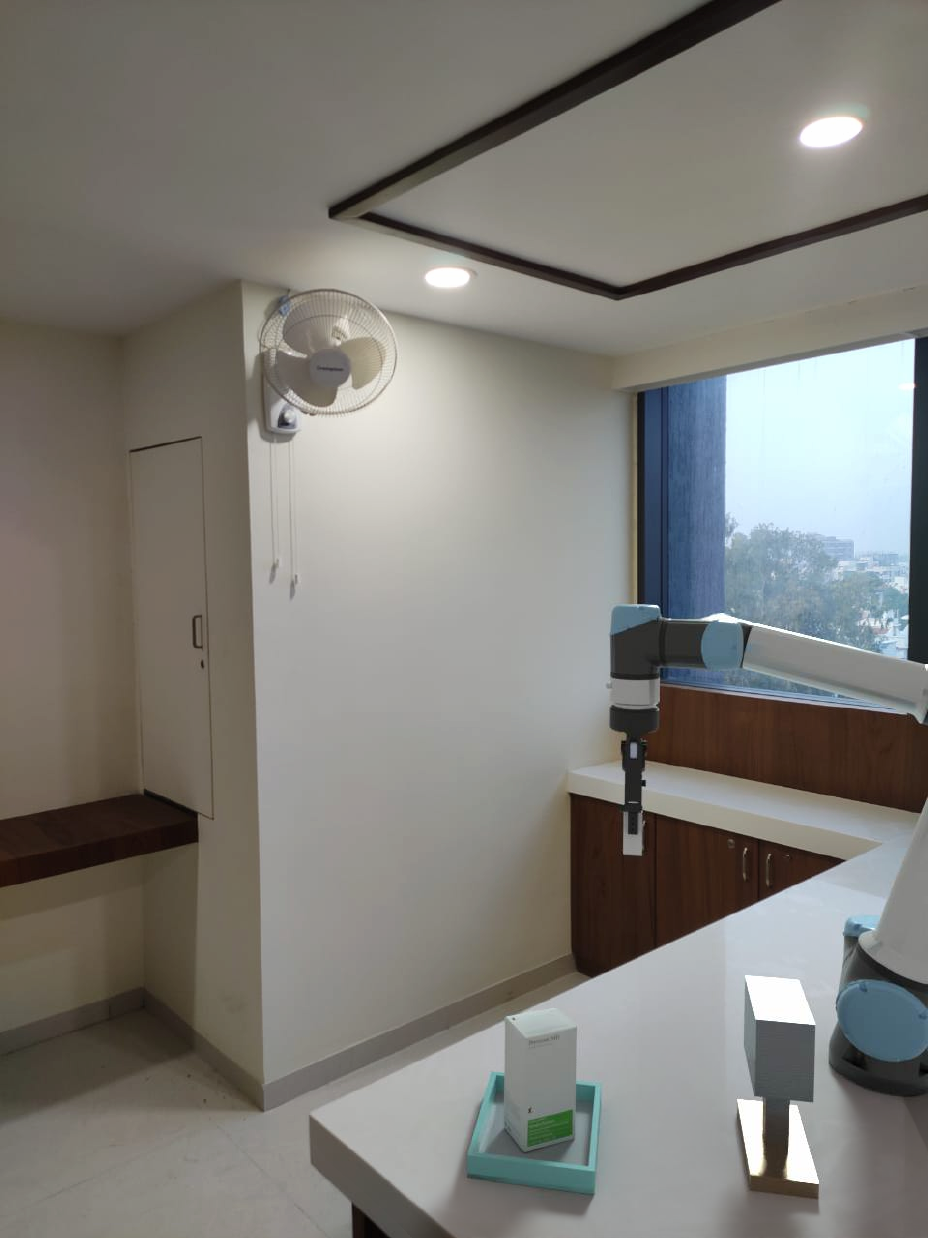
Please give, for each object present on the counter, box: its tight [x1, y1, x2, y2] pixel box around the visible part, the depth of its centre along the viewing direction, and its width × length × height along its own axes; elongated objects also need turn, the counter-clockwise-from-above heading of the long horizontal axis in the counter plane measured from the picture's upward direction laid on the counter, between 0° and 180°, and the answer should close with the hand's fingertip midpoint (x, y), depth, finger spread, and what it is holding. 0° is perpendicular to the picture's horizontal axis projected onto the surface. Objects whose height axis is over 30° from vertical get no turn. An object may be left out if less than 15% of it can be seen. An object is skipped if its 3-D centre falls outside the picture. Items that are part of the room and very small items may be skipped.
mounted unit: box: [736, 975, 820, 1200], centre depth 118 cm, size 8×16×21 cm, turn 169°
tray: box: [466, 1071, 602, 1195], centre depth 122 cm, size 16×19×3 cm
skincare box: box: [503, 1007, 578, 1152], centre depth 122 cm, size 8×7×16 cm
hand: (632, 840), depth 140 cm, fingers open, 13 cm apart
